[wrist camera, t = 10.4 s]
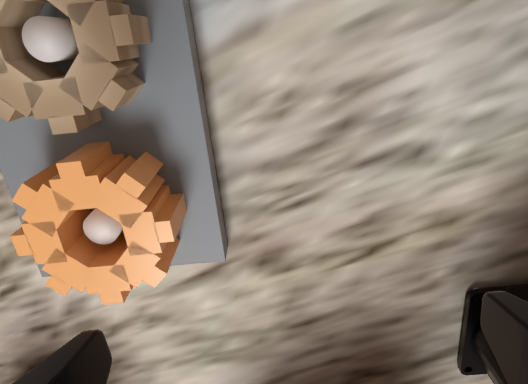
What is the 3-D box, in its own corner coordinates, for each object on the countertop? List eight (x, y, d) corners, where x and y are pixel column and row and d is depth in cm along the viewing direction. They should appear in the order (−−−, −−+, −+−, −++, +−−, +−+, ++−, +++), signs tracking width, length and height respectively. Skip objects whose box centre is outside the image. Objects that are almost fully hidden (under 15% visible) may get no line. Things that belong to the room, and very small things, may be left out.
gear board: (227, 246, 22) (221, 283, 18) (56, 261, 22) (20, 300, 19) (178, -65, 16) (156, -90, 13) (-53, -37, 16) (-132, -55, 13)
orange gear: (197, 261, 20) (186, 297, 17) (71, 272, 20) (40, 310, 18) (171, 134, 18) (154, 153, 15) (26, 149, 18) (-17, 171, 15)
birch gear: (166, 112, 17) (135, 137, 13) (18, 127, 17) (-59, 157, 13) (130, -68, 14) (77, -109, 10) (-44, -47, 15) (-164, -79, 11)
